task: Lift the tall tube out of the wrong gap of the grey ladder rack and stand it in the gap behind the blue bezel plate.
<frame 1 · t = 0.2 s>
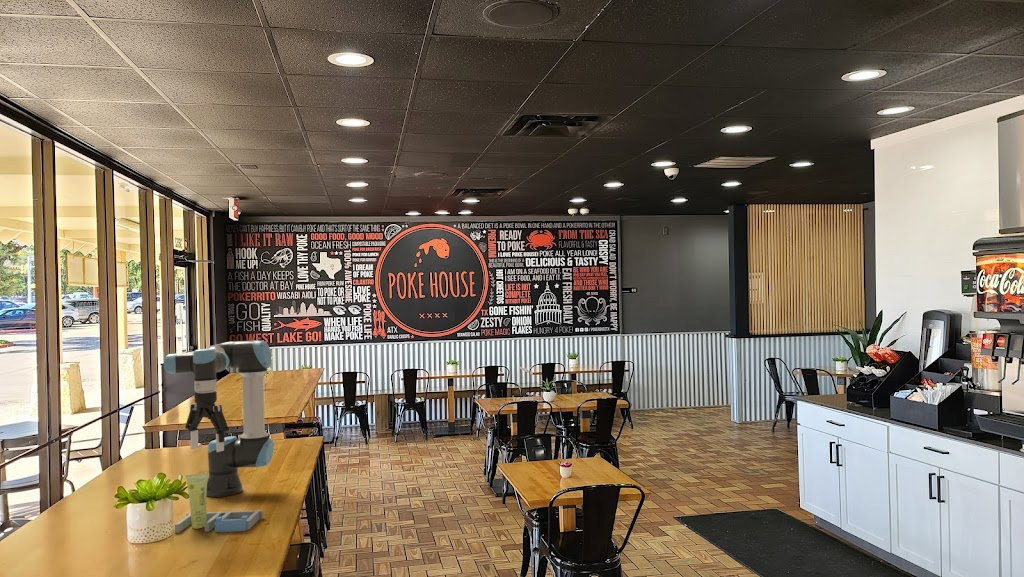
hand: (207, 449, 272), 28 cm above the table, fingers open, 13 cm apart
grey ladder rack: (219, 525, 273), on the table
tube: (198, 527, 272), resting in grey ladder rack
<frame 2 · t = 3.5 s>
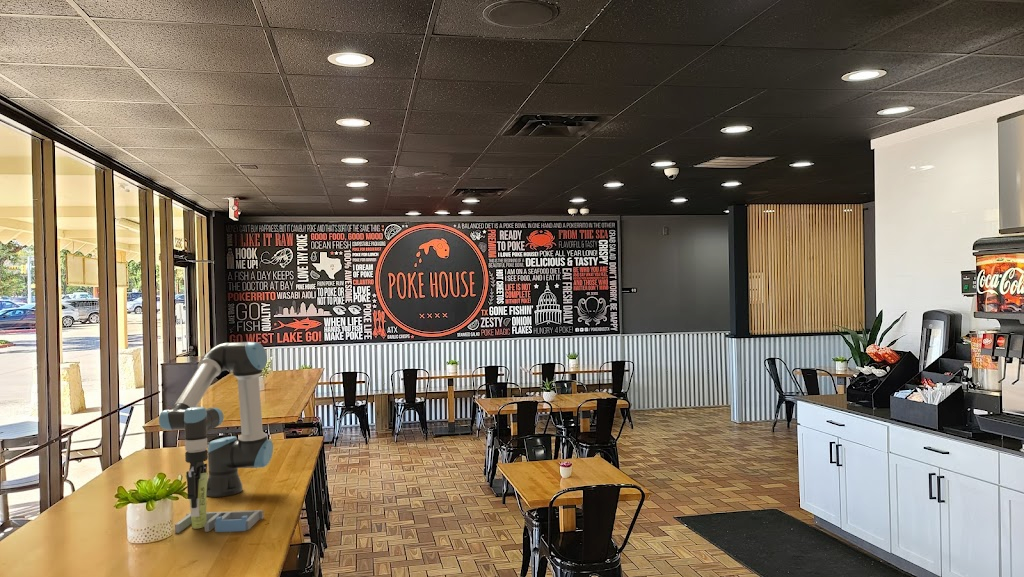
hand: (198, 514, 272), 5 cm above the table, fingers closed on tube, 5 cm apart
tube: (198, 527, 272), resting in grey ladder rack, touching gripper
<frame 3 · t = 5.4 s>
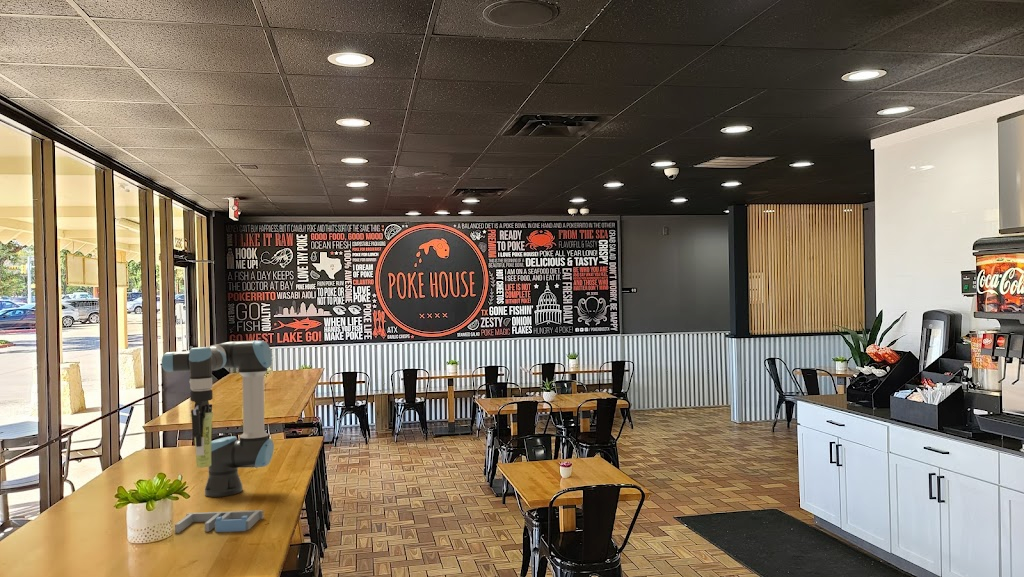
hand: (203, 453, 272), 27 cm above the table, fingers closed on tube, 5 cm apart
tube: (203, 467, 272), point 22 cm above the table, touching gripper
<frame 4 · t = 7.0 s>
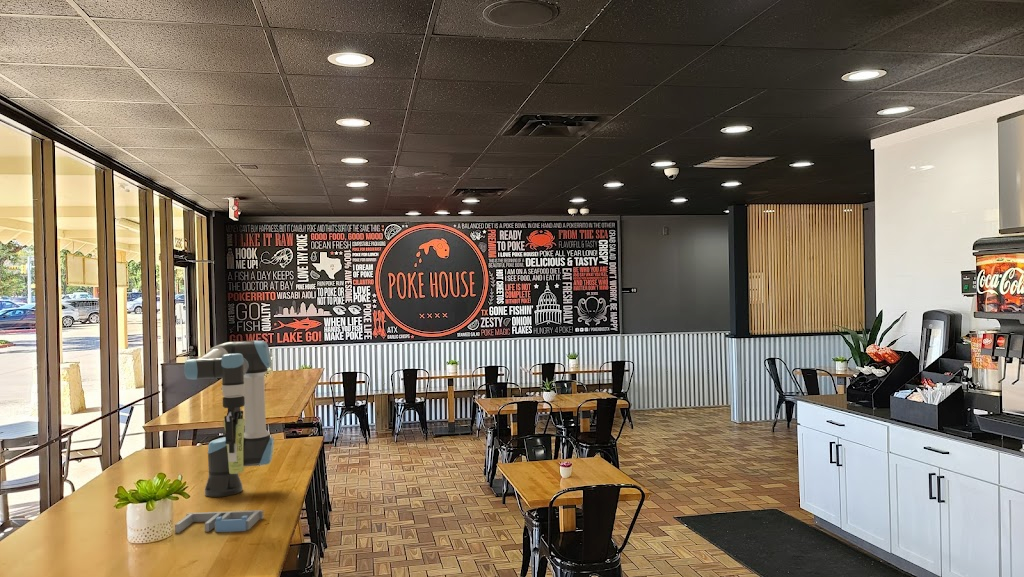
hand: (235, 459, 272), 24 cm above the table, fingers closed on tube, 5 cm apart
tube: (235, 473, 272), point 19 cm above the table, touching gripper
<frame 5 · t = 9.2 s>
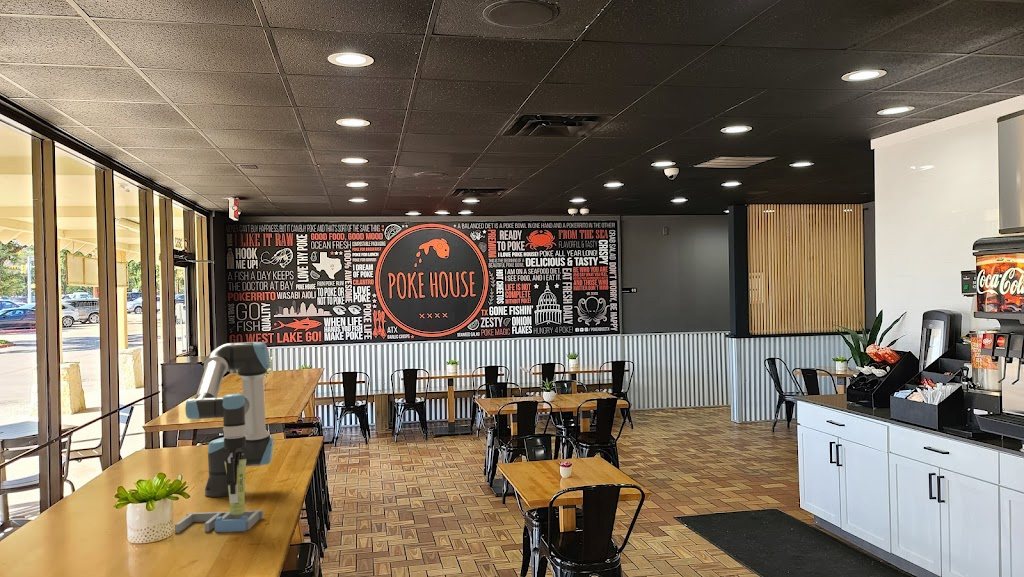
hand: (236, 500, 272), 9 cm above the table, fingers closed on tube, 5 cm apart
tube: (236, 513, 272), point 4 cm above the table, touching gripper
when the fingers open (6 cm above the table, at t = 10.8 s): tube stays where it is, resting in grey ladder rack.
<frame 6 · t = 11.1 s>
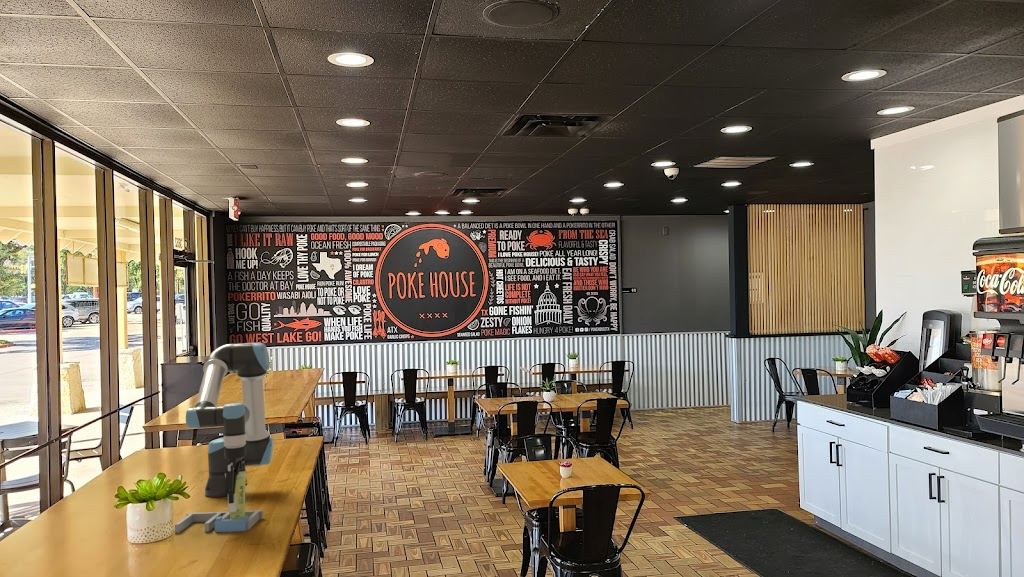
hand: (236, 507, 272), 6 cm above the table, fingers open, 9 cm apart
tube: (237, 525, 272), resting in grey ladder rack
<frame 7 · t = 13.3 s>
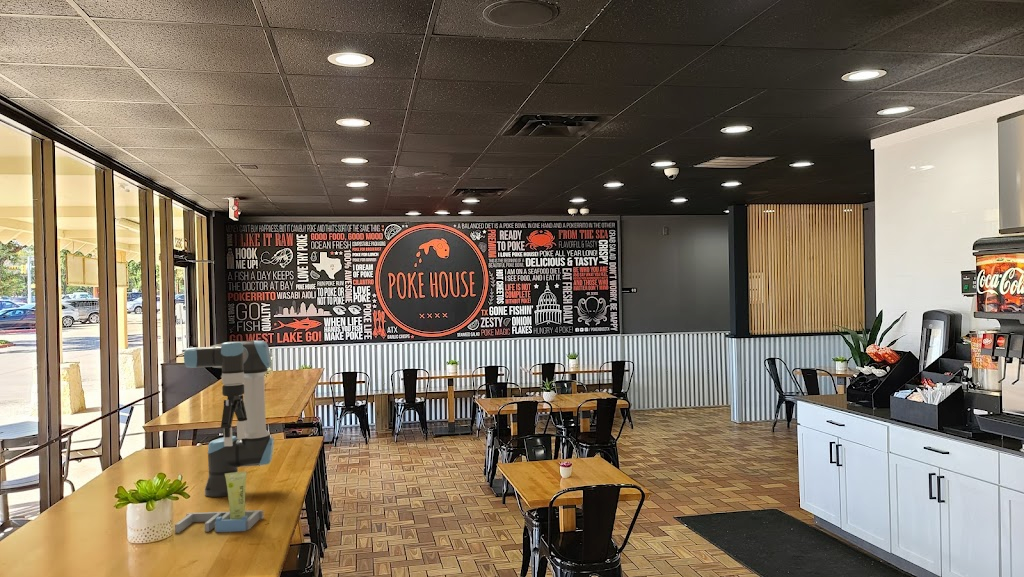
hand: (234, 442, 273), 30 cm above the table, fingers open, 13 cm apart
nothing on the table moved.
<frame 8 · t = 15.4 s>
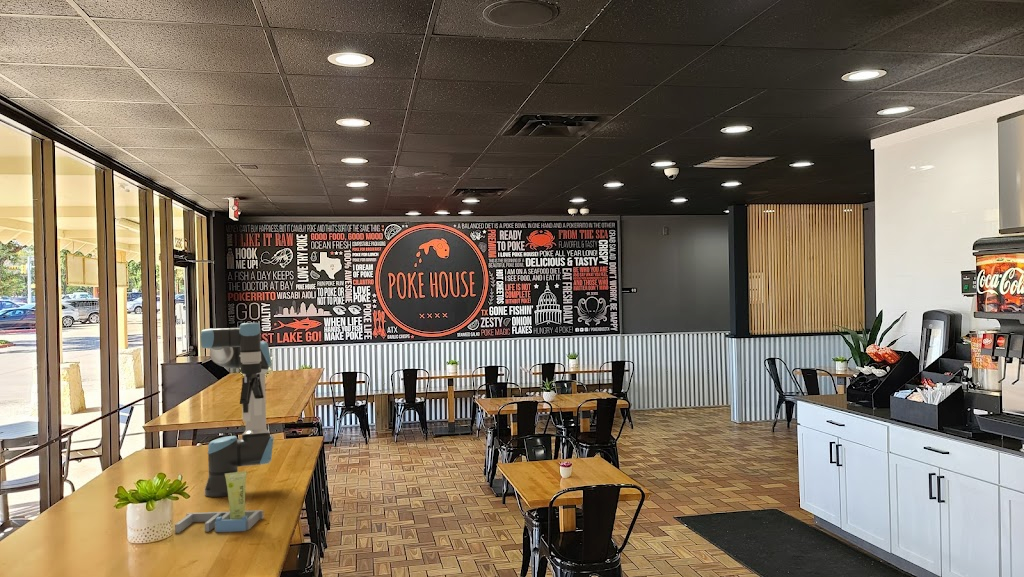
hand: (252, 418, 287), 37 cm above the table, fingers open, 13 cm apart
nothing on the table moved.
at the end: tube inside the target area (0.1 cm from its centre), resting in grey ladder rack; tube tilted 0°; the gripper is holding nothing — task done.
